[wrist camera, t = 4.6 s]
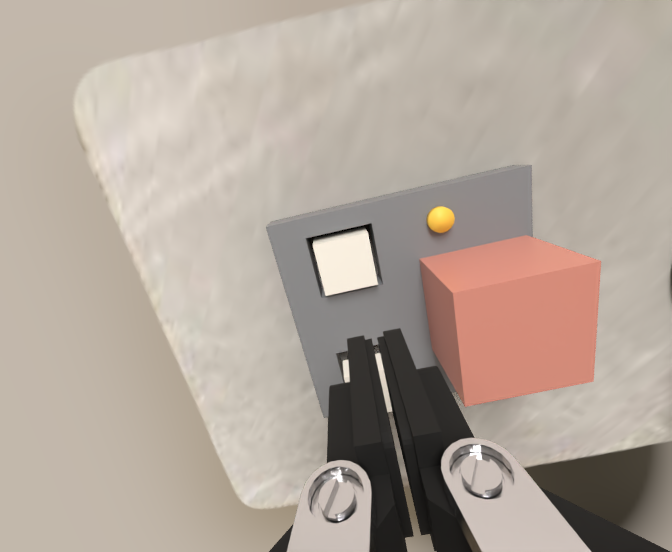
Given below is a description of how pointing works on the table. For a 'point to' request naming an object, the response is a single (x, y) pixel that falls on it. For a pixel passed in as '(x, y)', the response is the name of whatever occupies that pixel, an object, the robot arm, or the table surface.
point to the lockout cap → (512, 317)
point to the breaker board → (393, 262)
